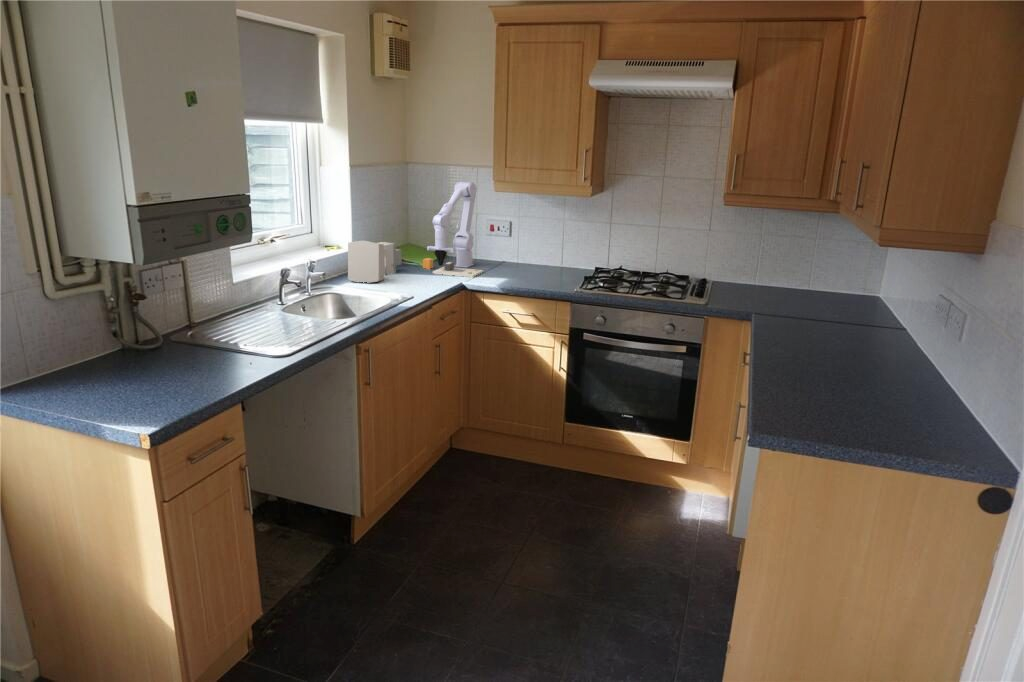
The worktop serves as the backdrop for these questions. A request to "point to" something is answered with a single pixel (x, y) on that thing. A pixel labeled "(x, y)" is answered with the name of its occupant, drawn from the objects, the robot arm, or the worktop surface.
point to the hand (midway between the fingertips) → (440, 265)
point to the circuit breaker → (391, 257)
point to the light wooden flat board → (458, 272)
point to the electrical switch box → (365, 261)
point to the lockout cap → (427, 263)
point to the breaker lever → (449, 266)
